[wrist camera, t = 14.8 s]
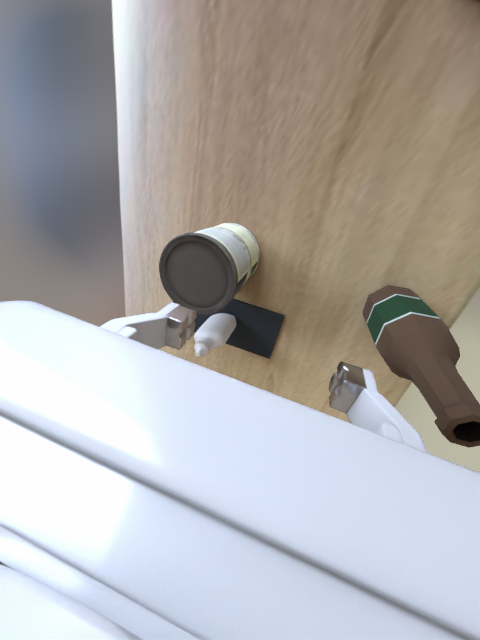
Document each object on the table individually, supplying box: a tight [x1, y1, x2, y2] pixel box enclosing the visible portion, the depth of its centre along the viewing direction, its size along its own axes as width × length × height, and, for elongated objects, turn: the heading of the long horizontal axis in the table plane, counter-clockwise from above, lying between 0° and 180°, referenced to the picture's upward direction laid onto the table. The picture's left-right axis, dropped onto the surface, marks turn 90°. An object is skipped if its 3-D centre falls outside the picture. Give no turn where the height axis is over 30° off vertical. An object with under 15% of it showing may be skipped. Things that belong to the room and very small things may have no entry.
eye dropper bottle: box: [194, 313, 236, 356], centre depth 42 cm, size 4×6×12 cm
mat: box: [173, 299, 284, 358], centre depth 48 cm, size 10×22×1 cm, turn 77°
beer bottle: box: [363, 285, 480, 447], centre depth 28 cm, size 8×8×24 cm
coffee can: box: [159, 223, 260, 315], centre depth 36 cm, size 10×10×14 cm
